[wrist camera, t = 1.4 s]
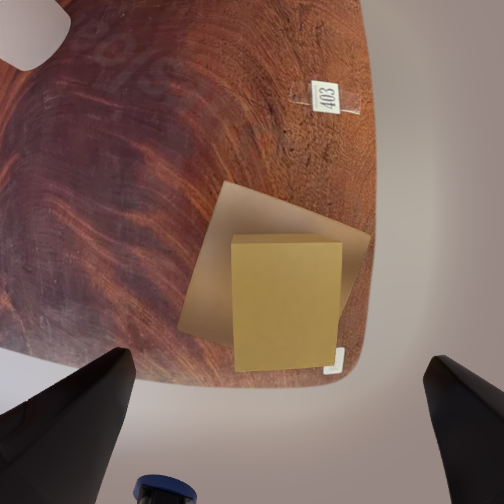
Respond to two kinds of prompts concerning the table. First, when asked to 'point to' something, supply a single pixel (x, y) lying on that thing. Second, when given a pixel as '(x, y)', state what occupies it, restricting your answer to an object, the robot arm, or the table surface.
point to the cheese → (285, 300)
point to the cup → (31, 31)
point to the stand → (254, 222)
